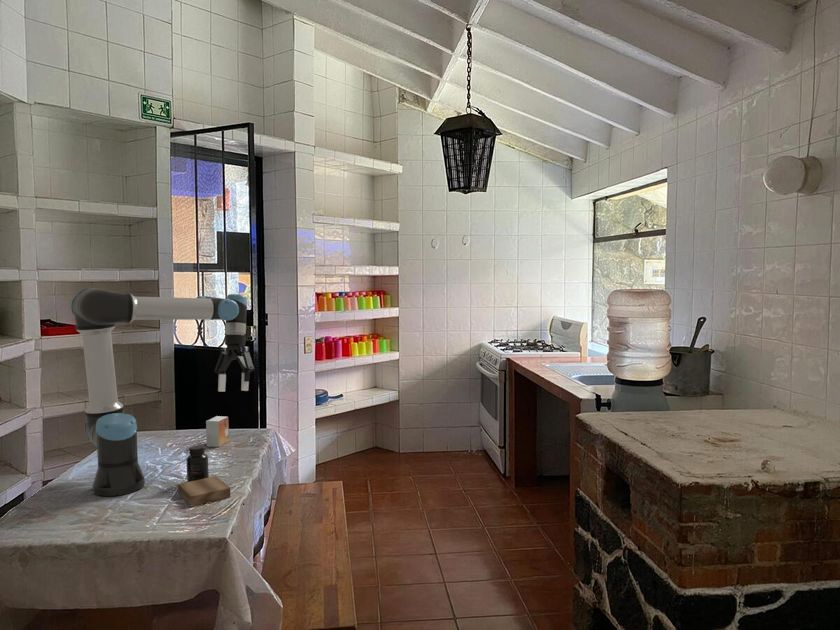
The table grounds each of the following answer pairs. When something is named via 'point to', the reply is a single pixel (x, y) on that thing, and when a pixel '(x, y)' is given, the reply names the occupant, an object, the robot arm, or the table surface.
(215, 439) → the small box
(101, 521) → the table surface
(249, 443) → the table surface
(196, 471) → the supplement bottle
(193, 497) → the brown flat block
